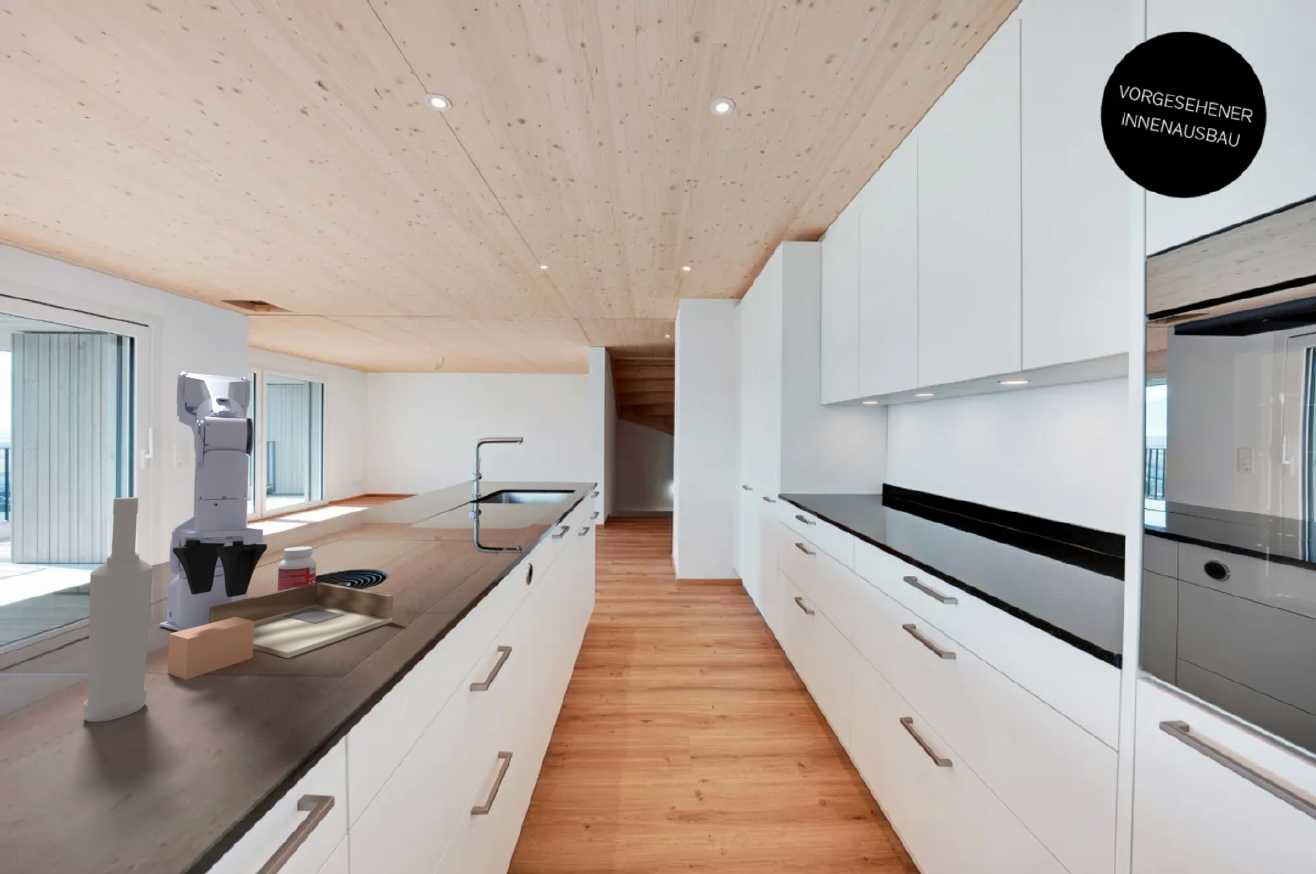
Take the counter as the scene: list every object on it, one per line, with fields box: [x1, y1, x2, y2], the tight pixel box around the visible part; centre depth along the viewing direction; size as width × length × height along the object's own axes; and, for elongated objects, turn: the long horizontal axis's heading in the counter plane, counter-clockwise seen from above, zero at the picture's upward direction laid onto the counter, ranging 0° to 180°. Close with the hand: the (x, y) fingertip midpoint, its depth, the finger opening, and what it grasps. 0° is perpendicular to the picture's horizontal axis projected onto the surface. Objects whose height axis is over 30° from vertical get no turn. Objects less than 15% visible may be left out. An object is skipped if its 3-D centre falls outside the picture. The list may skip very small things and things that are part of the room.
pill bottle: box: [276, 546, 317, 592], centre depth 101 cm, size 6×6×11 cm
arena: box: [209, 581, 394, 659], centre depth 88 cm, size 20×18×5 cm
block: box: [167, 617, 254, 681], centre depth 73 cm, size 8×4×6 cm, turn 157°
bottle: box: [83, 496, 154, 723], centre depth 60 cm, size 5×5×25 cm
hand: (218, 594), depth 74 cm, fingers open, 7 cm apart
